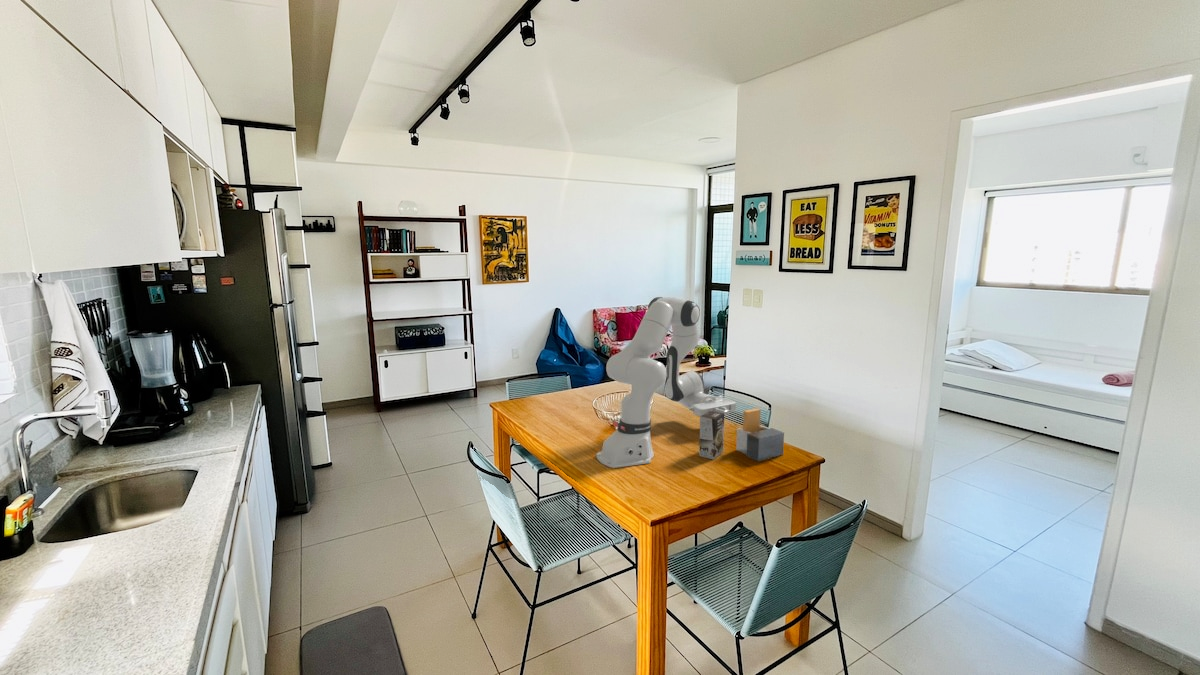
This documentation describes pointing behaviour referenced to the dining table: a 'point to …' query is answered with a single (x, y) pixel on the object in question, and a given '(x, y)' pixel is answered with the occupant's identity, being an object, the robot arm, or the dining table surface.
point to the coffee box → (711, 434)
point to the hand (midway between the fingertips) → (726, 412)
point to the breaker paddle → (751, 420)
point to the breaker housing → (760, 443)
